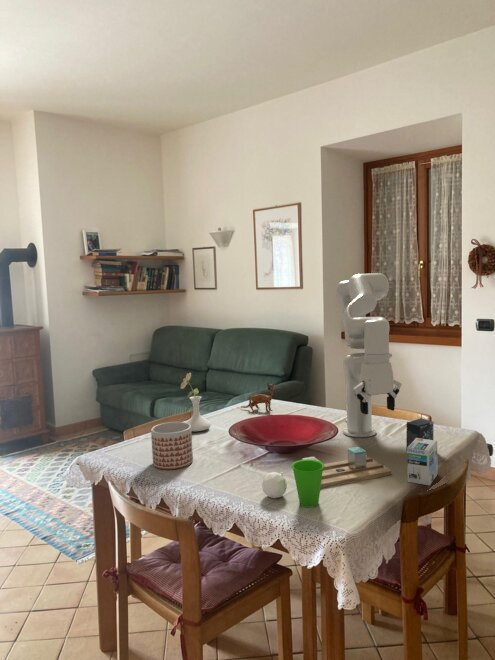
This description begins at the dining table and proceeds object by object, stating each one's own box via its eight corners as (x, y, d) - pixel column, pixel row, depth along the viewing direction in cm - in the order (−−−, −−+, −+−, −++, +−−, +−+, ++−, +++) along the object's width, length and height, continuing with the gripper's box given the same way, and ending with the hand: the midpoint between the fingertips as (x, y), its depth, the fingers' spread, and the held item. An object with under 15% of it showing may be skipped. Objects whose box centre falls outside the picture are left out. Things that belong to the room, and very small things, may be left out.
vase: (177, 453, 191) (175, 419, 190) (201, 461, 181) (199, 426, 180) (145, 464, 181) (143, 428, 180) (168, 473, 172) (166, 435, 170)
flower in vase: (196, 424, 227) (193, 367, 224) (216, 428, 220) (213, 369, 218) (175, 432, 216) (171, 373, 214) (195, 436, 210) (192, 375, 207)
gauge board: (296, 472, 168) (295, 453, 167) (367, 460, 176) (367, 442, 175) (315, 488, 154) (315, 468, 154) (391, 474, 163) (391, 455, 162)
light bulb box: (430, 486, 153) (429, 450, 152) (406, 482, 156) (406, 447, 155) (438, 473, 162) (438, 440, 161) (416, 470, 165) (415, 437, 164)
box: (419, 455, 178) (419, 425, 177) (406, 451, 183) (405, 421, 182) (434, 450, 182) (434, 421, 181) (420, 446, 187) (420, 417, 186)
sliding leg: (347, 465, 168) (347, 448, 168) (358, 463, 169) (358, 446, 169) (355, 470, 164) (354, 452, 163) (366, 468, 165) (366, 451, 164)
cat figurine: (237, 411, 246) (236, 382, 245) (243, 407, 252) (242, 379, 251) (273, 414, 238) (271, 384, 237) (278, 410, 244) (277, 381, 243)
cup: (290, 497, 149) (288, 460, 148) (321, 495, 150) (320, 458, 149) (295, 512, 140) (294, 472, 139) (328, 509, 141) (327, 469, 140)
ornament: (264, 490, 155) (279, 467, 155) (281, 505, 150) (297, 482, 151) (252, 486, 150) (268, 462, 150) (270, 502, 145) (286, 477, 145)
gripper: (393, 354, 171) (393, 405, 173) (346, 359, 166) (347, 412, 167) (407, 357, 164) (407, 410, 166) (359, 362, 159) (360, 418, 160)
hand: (377, 411), depth 167 cm, fingers open, 9 cm apart
